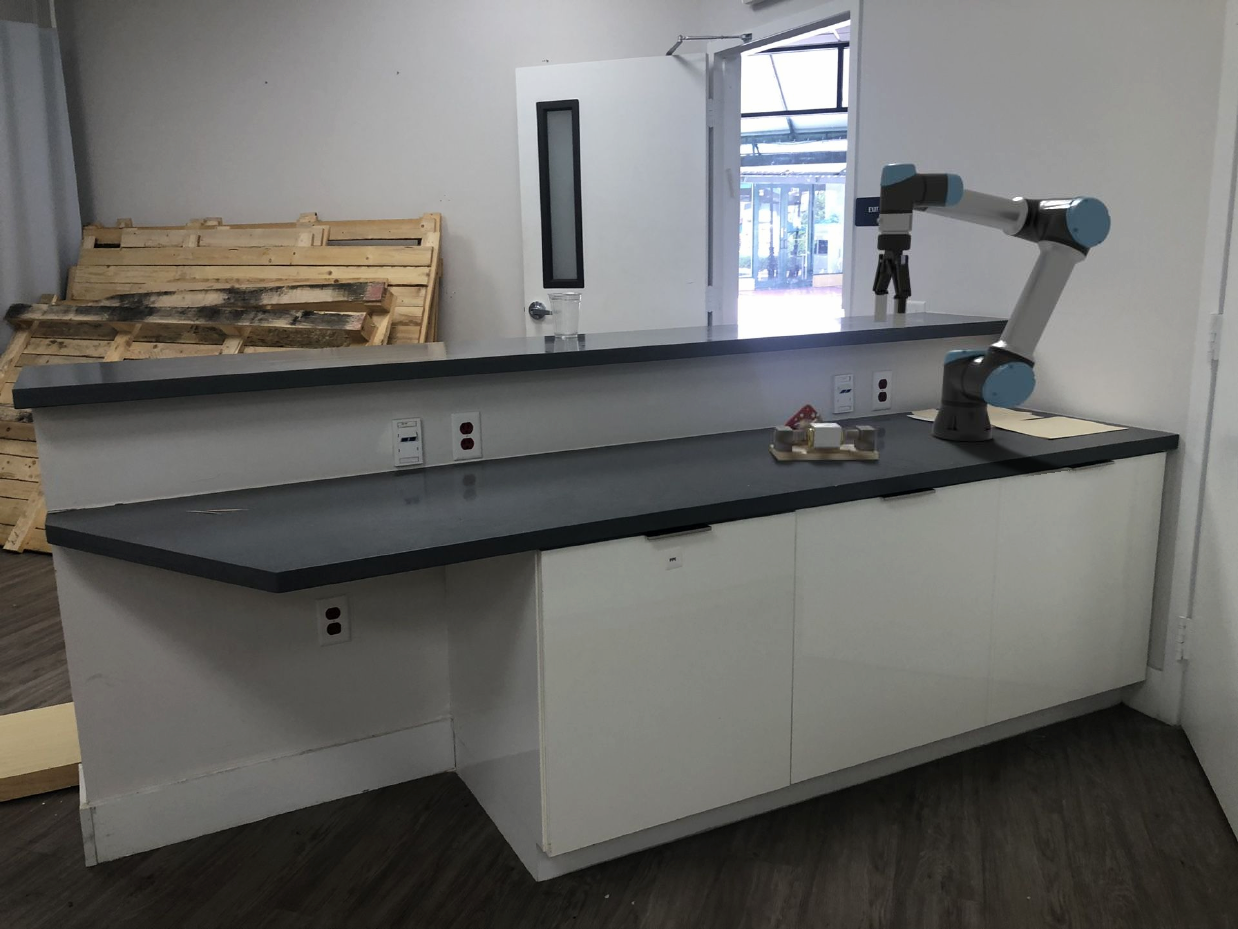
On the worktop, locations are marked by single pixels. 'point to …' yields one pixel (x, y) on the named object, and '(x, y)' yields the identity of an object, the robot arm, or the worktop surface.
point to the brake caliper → (804, 421)
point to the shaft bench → (856, 451)
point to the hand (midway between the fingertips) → (889, 324)
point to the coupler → (824, 436)
